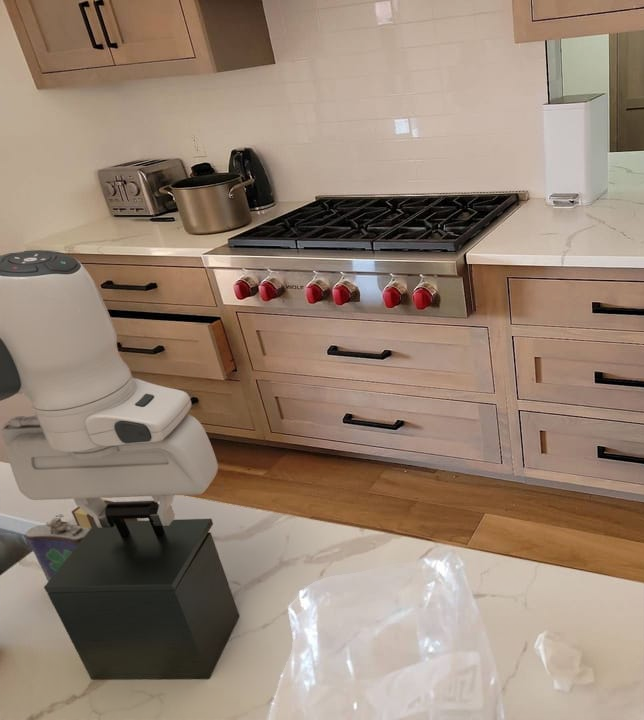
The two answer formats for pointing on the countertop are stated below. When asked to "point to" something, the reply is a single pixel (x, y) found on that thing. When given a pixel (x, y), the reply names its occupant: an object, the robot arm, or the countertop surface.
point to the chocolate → (88, 517)
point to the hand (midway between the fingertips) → (137, 523)
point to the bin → (154, 624)
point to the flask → (54, 543)
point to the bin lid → (131, 553)
